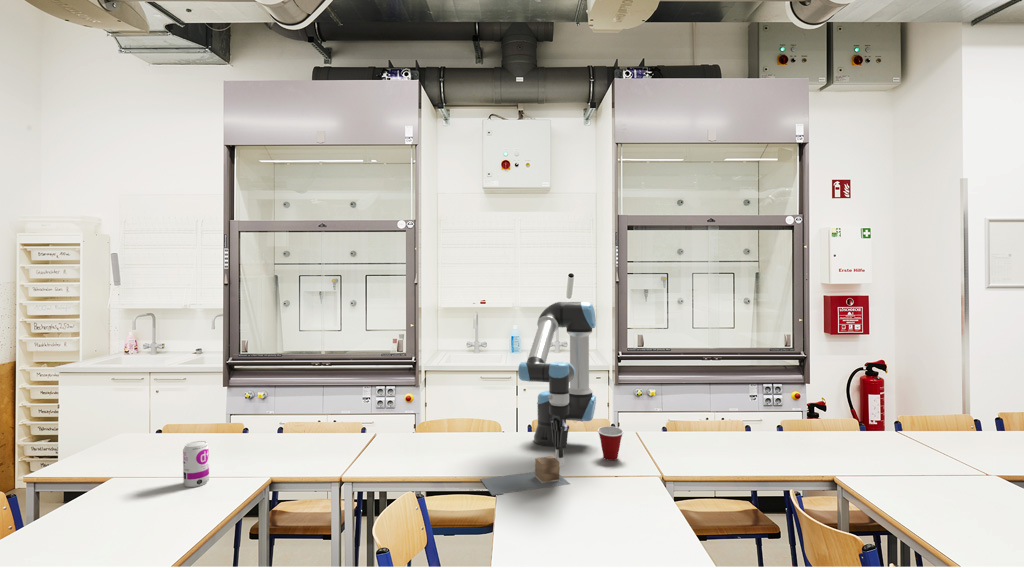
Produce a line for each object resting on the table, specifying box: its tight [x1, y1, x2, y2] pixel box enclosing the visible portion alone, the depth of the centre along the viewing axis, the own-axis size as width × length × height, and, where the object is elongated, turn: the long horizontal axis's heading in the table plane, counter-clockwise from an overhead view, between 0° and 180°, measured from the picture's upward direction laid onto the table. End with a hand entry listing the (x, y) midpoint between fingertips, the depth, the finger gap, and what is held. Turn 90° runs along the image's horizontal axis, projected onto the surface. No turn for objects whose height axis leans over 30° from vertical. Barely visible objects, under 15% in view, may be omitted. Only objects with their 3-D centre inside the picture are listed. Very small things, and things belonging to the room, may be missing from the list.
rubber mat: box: [479, 471, 571, 496], centre depth 204 cm, size 30×16×1 cm, turn 108°
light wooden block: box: [534, 455, 560, 483], centre depth 206 cm, size 7×7×7 cm
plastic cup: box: [597, 425, 624, 461], centre depth 230 cm, size 11×11×12 cm
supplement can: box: [182, 440, 210, 488], centre depth 204 cm, size 8×8×15 cm
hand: (559, 465), depth 208 cm, fingers closed
